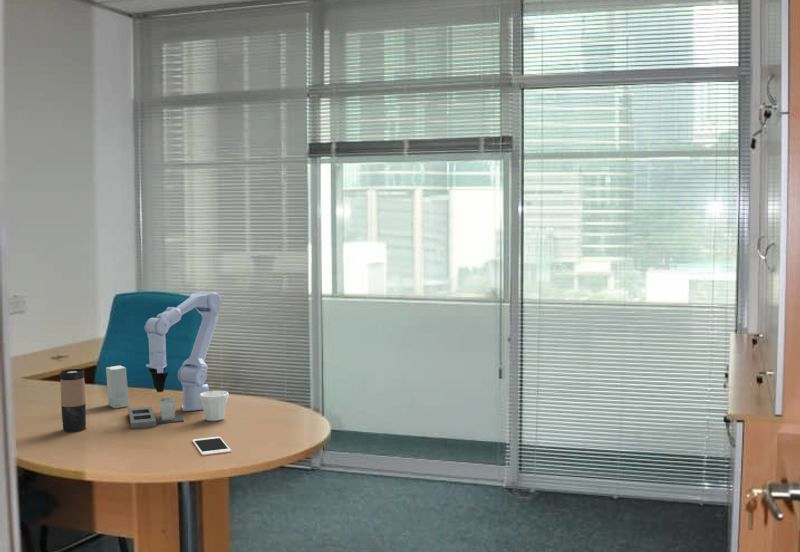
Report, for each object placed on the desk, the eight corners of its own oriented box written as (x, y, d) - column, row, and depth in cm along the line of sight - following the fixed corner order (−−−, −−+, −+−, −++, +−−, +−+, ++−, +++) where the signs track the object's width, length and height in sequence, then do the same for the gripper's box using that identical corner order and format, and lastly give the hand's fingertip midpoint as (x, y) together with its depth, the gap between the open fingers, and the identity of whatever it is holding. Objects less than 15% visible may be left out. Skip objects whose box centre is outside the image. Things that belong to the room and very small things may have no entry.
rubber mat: (180, 415, 297) (180, 414, 297) (183, 421, 288) (183, 420, 288) (154, 418, 294) (154, 417, 293) (156, 424, 285) (156, 422, 285)
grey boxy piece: (174, 416, 294) (174, 397, 293) (176, 419, 289) (175, 400, 288) (159, 417, 292) (159, 398, 292) (161, 421, 287) (160, 401, 287)
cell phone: (202, 457, 247) (202, 454, 247) (191, 442, 263) (191, 439, 263) (231, 453, 250) (231, 450, 250) (219, 439, 267) (219, 436, 267)
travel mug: (91, 427, 281) (89, 369, 280) (75, 433, 274) (73, 373, 273) (73, 425, 284) (70, 368, 282) (57, 431, 277) (54, 372, 275)
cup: (222, 423, 285) (221, 397, 284) (195, 422, 287) (194, 396, 286) (233, 416, 294) (233, 391, 294) (207, 415, 296) (206, 390, 296)
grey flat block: (151, 412, 302) (151, 406, 302) (156, 426, 282) (156, 420, 282) (128, 414, 299) (128, 408, 299) (131, 429, 279) (131, 423, 279)
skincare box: (129, 406, 311) (127, 367, 310) (112, 409, 308) (111, 369, 307) (123, 402, 318) (121, 364, 317) (106, 404, 315) (105, 366, 314)
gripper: (143, 349, 297) (145, 386, 298) (147, 355, 284) (149, 394, 285) (164, 348, 300) (165, 385, 301) (168, 354, 286) (170, 392, 288)
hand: (158, 389), depth 293 cm, fingers open, 7 cm apart
